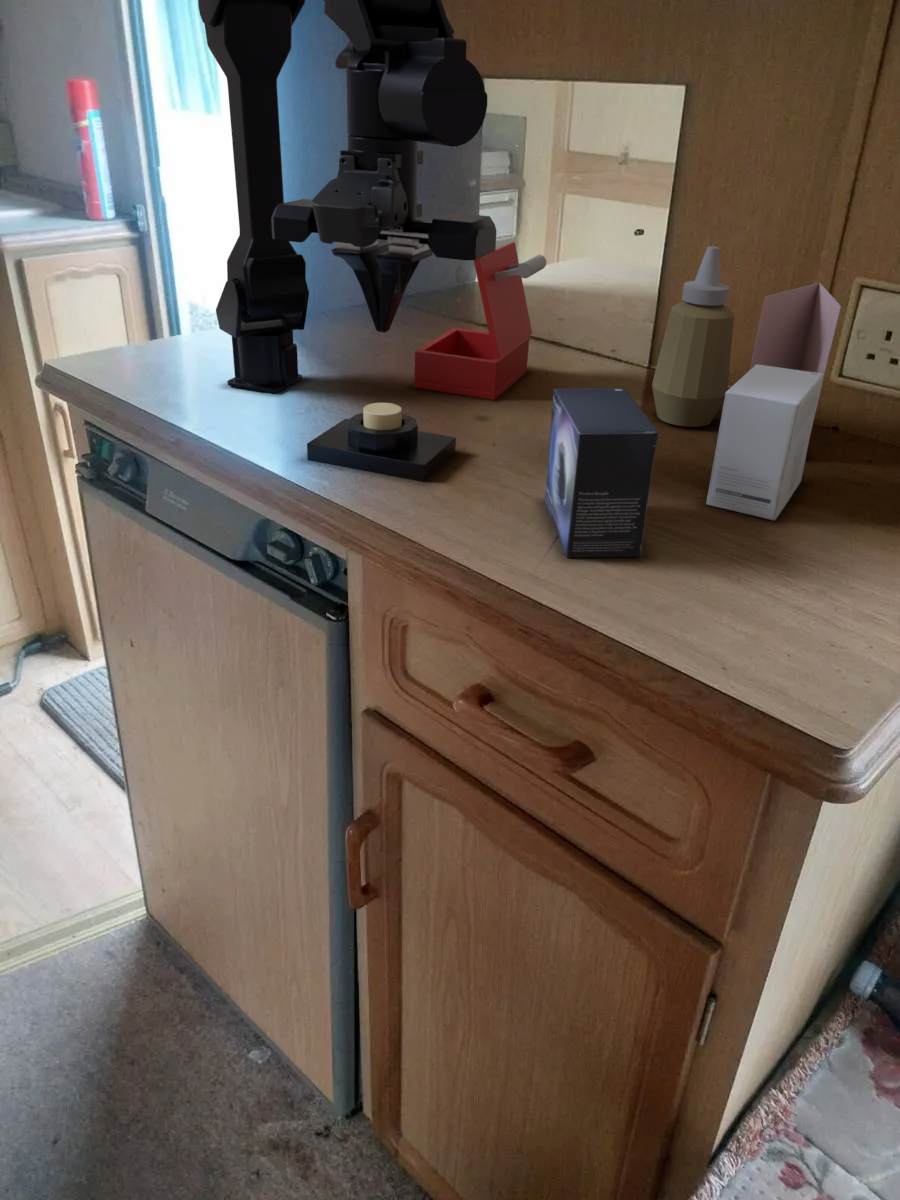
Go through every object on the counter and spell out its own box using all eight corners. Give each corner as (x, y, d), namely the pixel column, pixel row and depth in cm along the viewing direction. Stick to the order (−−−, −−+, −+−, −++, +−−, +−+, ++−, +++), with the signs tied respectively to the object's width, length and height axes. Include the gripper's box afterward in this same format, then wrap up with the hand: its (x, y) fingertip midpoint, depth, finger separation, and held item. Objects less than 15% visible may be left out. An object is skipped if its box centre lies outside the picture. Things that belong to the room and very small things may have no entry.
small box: (538, 502, 80) (549, 385, 75) (611, 502, 80) (627, 385, 75) (561, 558, 71) (575, 429, 65) (643, 558, 71) (664, 430, 66)
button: (357, 429, 85) (356, 411, 84) (373, 417, 88) (373, 400, 87) (392, 435, 84) (392, 417, 83) (407, 423, 87) (407, 405, 86)
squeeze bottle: (727, 415, 102) (760, 246, 93) (713, 437, 96) (747, 257, 87) (656, 403, 105) (682, 238, 96) (638, 424, 99) (664, 248, 90)
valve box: (414, 387, 107) (414, 351, 105) (452, 361, 117) (453, 327, 115) (494, 400, 104) (496, 362, 102) (526, 372, 114) (529, 337, 112)
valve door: (473, 259, 98) (517, 249, 96) (509, 243, 108) (550, 234, 106) (494, 359, 102) (537, 352, 100) (527, 334, 112) (566, 327, 110)
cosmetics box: (733, 468, 89) (755, 360, 83) (800, 483, 86) (828, 373, 81) (701, 504, 81) (723, 388, 76) (774, 522, 78) (803, 403, 73)
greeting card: (779, 420, 102) (811, 281, 94) (844, 439, 97) (882, 293, 90) (726, 444, 94) (756, 295, 87) (793, 464, 90) (831, 309, 82)
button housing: (307, 460, 86) (305, 425, 85) (345, 434, 93) (344, 400, 91) (424, 482, 83) (425, 446, 81) (455, 453, 89) (457, 419, 88)
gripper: (228, 133, 70) (243, 338, 78) (454, 149, 65) (446, 368, 72) (300, 128, 79) (307, 312, 87) (503, 141, 74) (492, 336, 81)
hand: (382, 331), depth 82 cm, fingers closed
